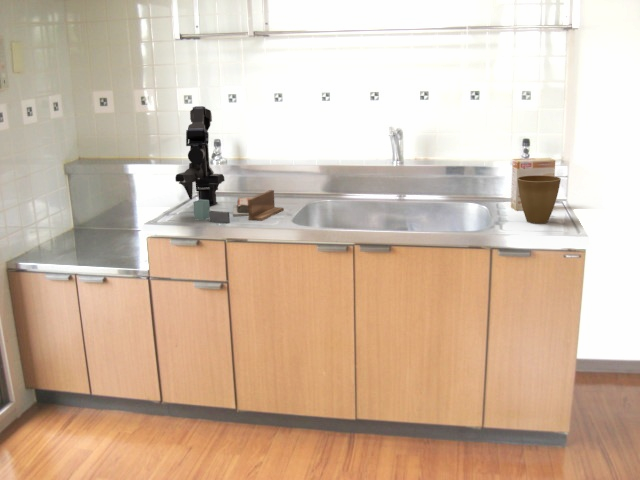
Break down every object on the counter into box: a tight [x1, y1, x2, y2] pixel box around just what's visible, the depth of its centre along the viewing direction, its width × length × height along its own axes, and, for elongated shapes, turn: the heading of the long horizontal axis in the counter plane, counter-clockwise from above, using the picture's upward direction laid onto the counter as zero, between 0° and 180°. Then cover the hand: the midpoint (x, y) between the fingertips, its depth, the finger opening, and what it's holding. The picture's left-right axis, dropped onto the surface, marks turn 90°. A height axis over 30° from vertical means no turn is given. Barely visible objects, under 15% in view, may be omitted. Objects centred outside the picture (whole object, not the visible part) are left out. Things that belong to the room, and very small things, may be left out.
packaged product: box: [232, 196, 251, 217], centre depth 288 cm, size 18×5×10 cm
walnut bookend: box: [248, 189, 284, 222], centre depth 280 cm, size 6×20×8 cm, turn 158°
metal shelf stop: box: [208, 210, 231, 224], centre depth 269 cm, size 8×1×4 cm, turn 69°
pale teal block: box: [193, 199, 211, 221], centre depth 276 cm, size 4×5×7 cm
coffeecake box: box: [510, 157, 556, 211], centre depth 278 cm, size 15×7×20 cm, turn 92°
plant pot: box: [517, 175, 562, 224], centre depth 257 cm, size 15×15×16 cm
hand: (201, 199), depth 275 cm, fingers open, 9 cm apart
